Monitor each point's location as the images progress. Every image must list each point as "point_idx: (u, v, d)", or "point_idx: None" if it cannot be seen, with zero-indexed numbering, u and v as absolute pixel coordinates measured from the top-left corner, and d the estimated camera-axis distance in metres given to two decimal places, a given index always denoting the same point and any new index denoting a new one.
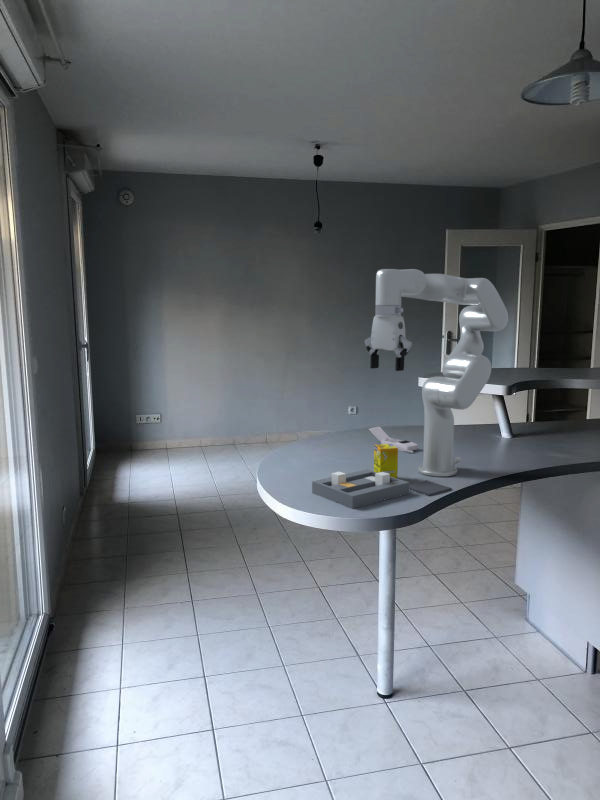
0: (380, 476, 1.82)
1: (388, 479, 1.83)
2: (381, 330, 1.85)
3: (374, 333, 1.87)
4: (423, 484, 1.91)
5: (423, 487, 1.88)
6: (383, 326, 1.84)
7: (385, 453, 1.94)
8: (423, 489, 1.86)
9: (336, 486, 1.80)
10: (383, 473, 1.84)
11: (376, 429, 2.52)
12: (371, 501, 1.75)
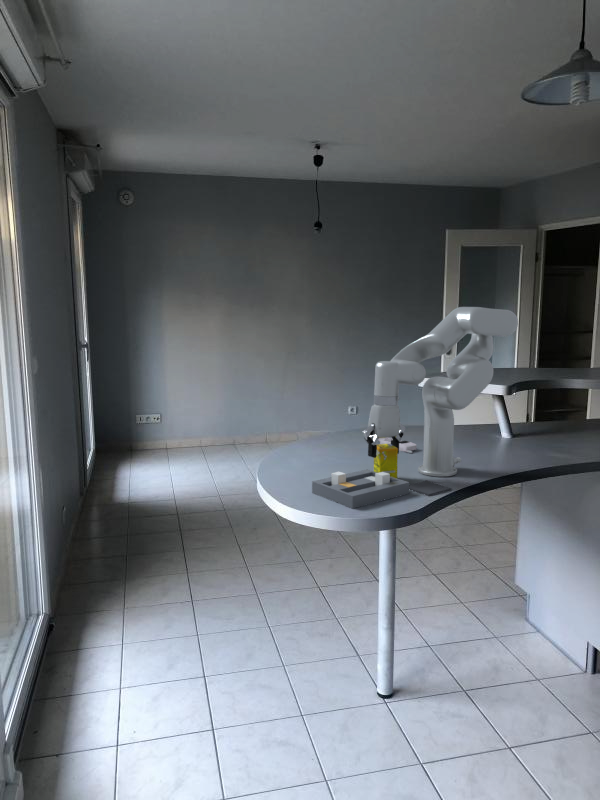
0: (380, 476, 1.82)
1: (388, 479, 1.83)
2: (390, 420, 1.94)
3: (382, 423, 1.92)
4: (423, 484, 1.91)
5: (423, 487, 1.88)
6: (392, 415, 1.94)
7: (385, 453, 1.94)
8: (423, 489, 1.86)
9: (336, 486, 1.80)
10: (383, 473, 1.84)
11: None
12: (371, 501, 1.75)
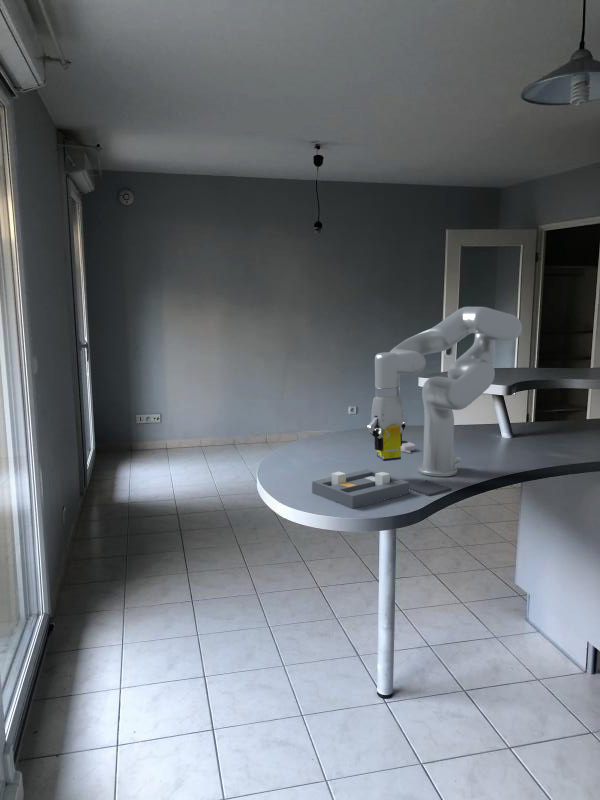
0: (380, 476, 1.82)
1: (388, 479, 1.83)
2: (392, 411, 1.93)
3: (385, 415, 1.92)
4: (423, 484, 1.91)
5: (423, 487, 1.88)
6: (394, 406, 1.94)
7: (388, 431, 1.94)
8: (423, 489, 1.86)
9: (336, 486, 1.80)
10: (383, 473, 1.84)
11: None
12: (371, 501, 1.75)
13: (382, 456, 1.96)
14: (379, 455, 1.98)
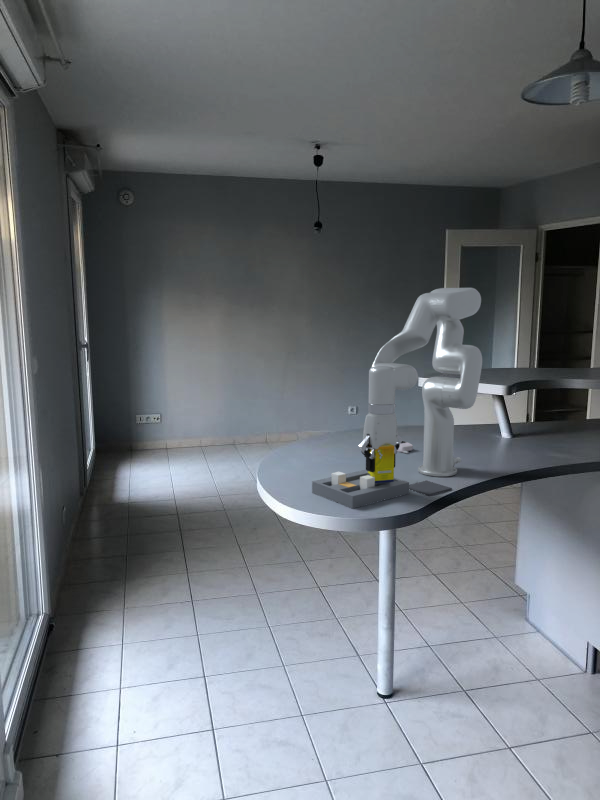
0: (365, 479, 1.79)
1: (373, 483, 1.80)
2: (386, 429, 1.79)
3: (378, 434, 1.77)
4: (423, 484, 1.91)
5: (423, 487, 1.88)
6: (388, 425, 1.79)
7: (380, 451, 1.79)
8: (423, 489, 1.86)
9: (336, 486, 1.80)
10: (368, 476, 1.80)
11: None
12: (371, 501, 1.75)
13: None
14: None
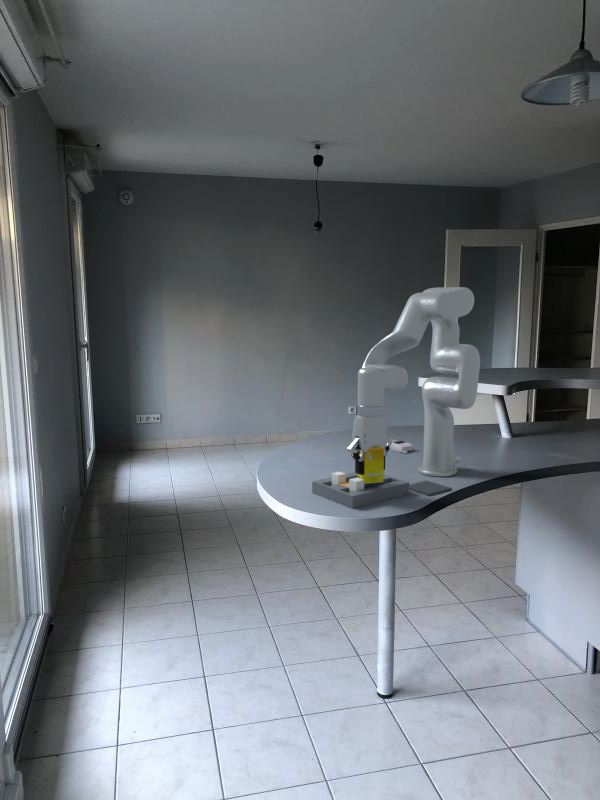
0: (354, 482, 1.76)
1: (362, 485, 1.77)
2: (375, 432, 1.76)
3: (367, 436, 1.75)
4: (423, 484, 1.91)
5: (423, 487, 1.88)
6: (378, 427, 1.77)
7: (370, 454, 1.76)
8: (423, 489, 1.86)
9: (336, 486, 1.80)
10: (357, 479, 1.78)
11: None
12: (371, 501, 1.75)
13: None
14: None
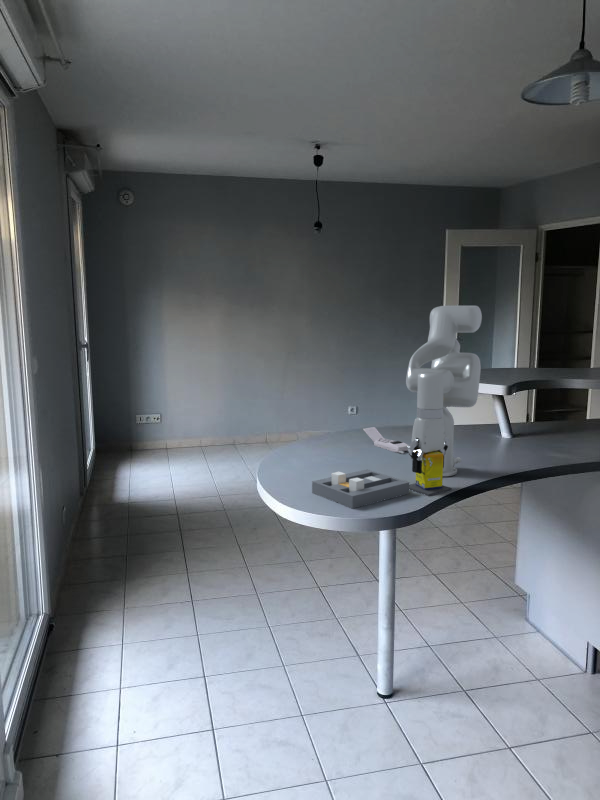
0: (354, 482, 1.76)
1: (362, 485, 1.77)
2: (434, 433, 1.84)
3: (427, 437, 1.83)
4: None
5: None
6: (436, 429, 1.84)
7: (431, 459, 1.84)
8: (423, 489, 1.86)
9: (336, 486, 1.80)
10: (357, 479, 1.78)
11: (370, 430, 2.52)
12: (371, 501, 1.75)
13: (423, 485, 1.86)
14: (419, 484, 1.88)
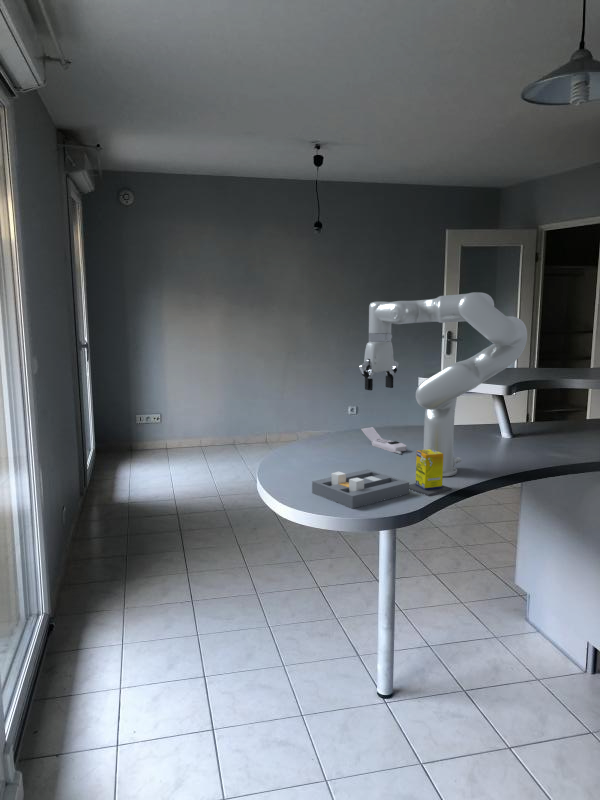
0: (354, 482, 1.76)
1: (362, 485, 1.77)
2: (384, 355, 2.11)
3: (377, 358, 2.09)
4: None
5: None
6: (385, 351, 2.11)
7: (431, 459, 1.84)
8: (423, 489, 1.86)
9: (336, 486, 1.80)
10: (357, 479, 1.78)
11: (369, 430, 2.52)
12: (371, 501, 1.75)
13: (423, 485, 1.86)
14: (419, 484, 1.88)
